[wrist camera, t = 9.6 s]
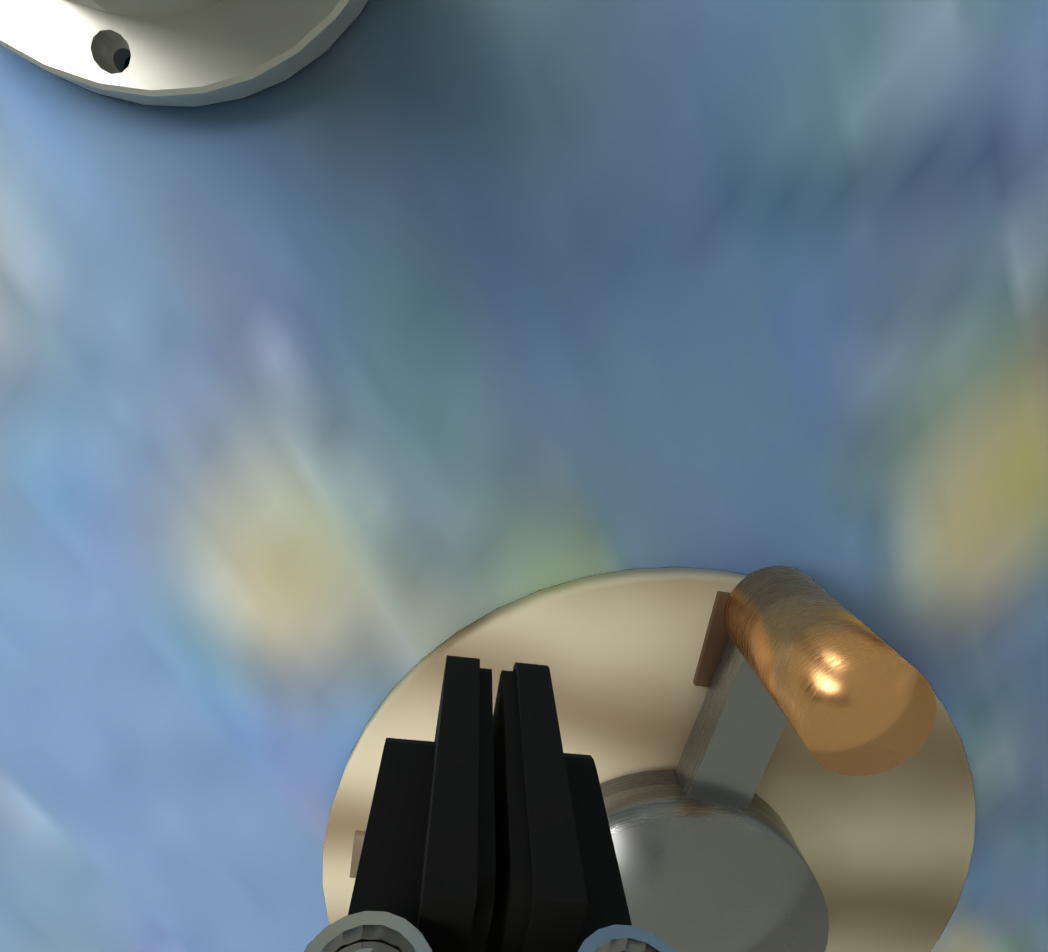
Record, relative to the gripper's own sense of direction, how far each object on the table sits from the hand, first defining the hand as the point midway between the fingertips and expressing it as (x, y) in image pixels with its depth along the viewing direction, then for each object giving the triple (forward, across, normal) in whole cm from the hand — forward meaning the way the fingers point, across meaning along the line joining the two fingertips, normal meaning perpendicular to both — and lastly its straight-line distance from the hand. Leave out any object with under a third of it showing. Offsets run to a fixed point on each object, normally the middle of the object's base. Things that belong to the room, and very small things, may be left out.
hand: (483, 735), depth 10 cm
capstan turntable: (+7, -8, +8) cm, 14 cm away
